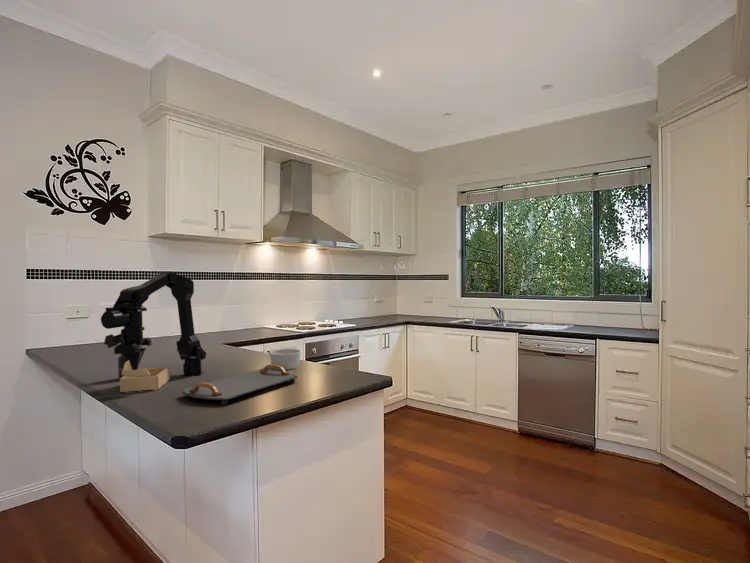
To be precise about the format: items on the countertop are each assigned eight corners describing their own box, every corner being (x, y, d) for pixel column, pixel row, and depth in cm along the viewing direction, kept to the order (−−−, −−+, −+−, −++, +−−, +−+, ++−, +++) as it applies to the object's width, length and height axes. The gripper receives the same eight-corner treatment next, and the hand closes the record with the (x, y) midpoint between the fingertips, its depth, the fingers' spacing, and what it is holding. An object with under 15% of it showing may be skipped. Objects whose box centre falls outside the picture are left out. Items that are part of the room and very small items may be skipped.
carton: (170, 379, 174) (170, 366, 174) (158, 390, 158) (157, 376, 158) (136, 381, 172) (135, 369, 172) (120, 392, 156) (119, 378, 156)
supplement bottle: (115, 381, 174) (114, 350, 174) (120, 377, 181) (119, 348, 180) (135, 379, 176) (134, 349, 176) (139, 375, 182) (138, 346, 182)
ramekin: (294, 371, 184) (293, 354, 184) (264, 370, 186) (264, 354, 186) (305, 364, 197) (305, 348, 197) (277, 364, 199) (277, 348, 199)
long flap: (134, 368, 169) (137, 357, 169) (122, 375, 158) (125, 363, 158) (133, 368, 169) (136, 356, 169) (121, 374, 157) (124, 362, 158)
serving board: (260, 375, 178) (259, 360, 178) (304, 381, 166) (304, 365, 166) (172, 400, 145) (172, 381, 145) (219, 410, 133) (219, 389, 133)
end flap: (150, 374, 157) (146, 369, 154) (150, 375, 157) (146, 370, 153) (125, 375, 156) (121, 370, 152) (125, 376, 156) (121, 371, 152)
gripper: (118, 323, 161) (119, 366, 161) (95, 329, 143) (97, 377, 143) (151, 322, 163) (152, 364, 163) (133, 327, 145) (134, 375, 145)
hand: (134, 370), depth 154 cm, fingers closed
